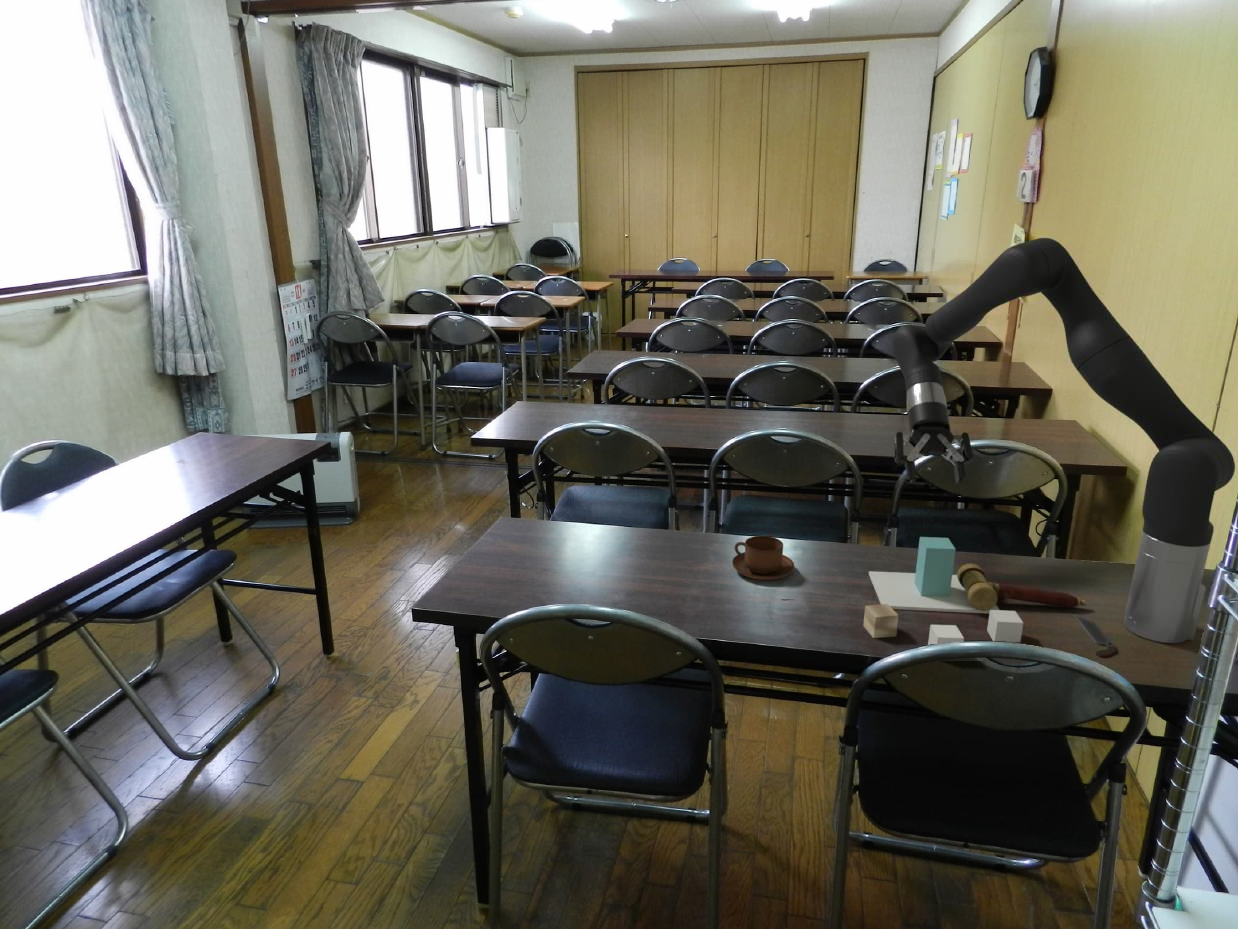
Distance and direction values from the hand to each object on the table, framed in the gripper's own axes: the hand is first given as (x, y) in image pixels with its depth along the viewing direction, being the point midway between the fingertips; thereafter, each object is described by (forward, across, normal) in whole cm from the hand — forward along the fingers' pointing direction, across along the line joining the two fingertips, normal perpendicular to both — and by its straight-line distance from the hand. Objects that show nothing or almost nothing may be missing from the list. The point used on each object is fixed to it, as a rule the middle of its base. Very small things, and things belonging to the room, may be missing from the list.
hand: (936, 481), depth 154 cm
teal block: (+21, -2, +4) cm, 21 cm away
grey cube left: (+32, +6, -6) cm, 33 cm away
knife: (+31, +20, -4) cm, 38 cm away
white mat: (+21, -2, +4) cm, 22 cm away
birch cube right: (+32, -14, -7) cm, 36 cm away
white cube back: (+36, -6, -11) cm, 38 cm away
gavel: (+23, +13, +2) cm, 27 cm away
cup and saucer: (+16, -33, +8) cm, 38 cm away
